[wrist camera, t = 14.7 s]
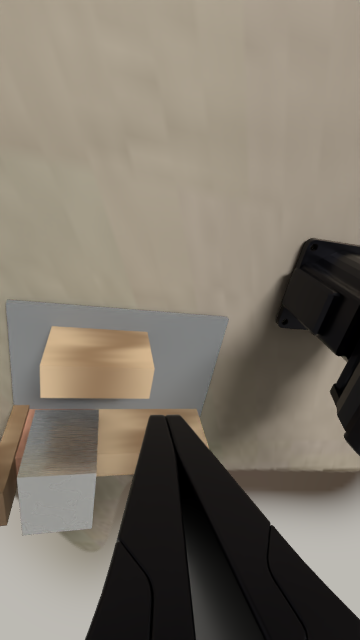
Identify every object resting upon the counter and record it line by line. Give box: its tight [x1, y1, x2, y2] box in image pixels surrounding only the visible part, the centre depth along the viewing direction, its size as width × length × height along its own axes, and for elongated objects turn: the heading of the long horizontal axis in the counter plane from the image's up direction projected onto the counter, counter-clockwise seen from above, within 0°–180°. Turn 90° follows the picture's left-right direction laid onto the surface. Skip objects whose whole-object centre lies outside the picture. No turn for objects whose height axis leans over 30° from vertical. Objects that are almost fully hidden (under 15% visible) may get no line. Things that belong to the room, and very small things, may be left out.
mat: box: [6, 300, 229, 418], centre depth 23 cm, size 14×12×1 cm
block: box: [0, 326, 210, 526], centre depth 20 cm, size 14×10×6 cm
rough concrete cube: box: [17, 409, 99, 535], centre depth 20 cm, size 4×5×5 cm
